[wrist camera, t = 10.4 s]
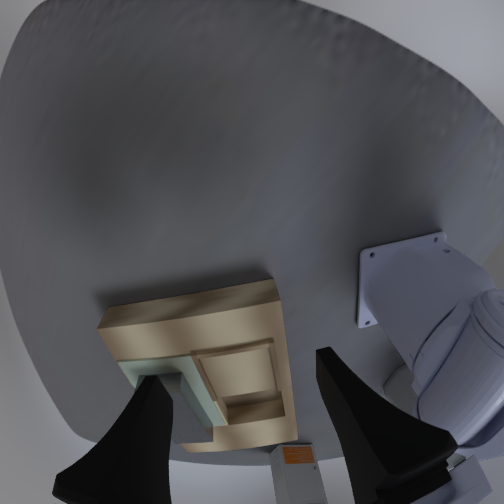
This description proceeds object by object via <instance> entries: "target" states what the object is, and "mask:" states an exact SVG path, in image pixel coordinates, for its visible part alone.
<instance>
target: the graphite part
mask: <svg viewBox="0 0 504 504" xmlns="http://www.w3.org/2000/svg"><path fill="white" fill-rule="evenodd" d="M152 375H157V376H158V377H159V379H160V380H161V382H162V384H163V385H164V387H165V388H166V390H167V392H168V393H169V395H170V396H171V398H172V399H173V426H172V434H171V439H172V440H173V441H174V442H175V443H176V444H181V443H205V442H213V423H212V422H211V420H210V419H209V417H208V415H207V414H206V412H205V411H204V409H203V407H202V406H201V404H200V402H199V401H198V399H197V397H196V395H195V394H194V392H193V390H192V389H191V387H190V385H189V383H188V381H187V380H186V378H185V376H184V374H183V372H175V373H165V374H152ZM152 375H139V377H138V380H137V384H136V388H135V392H136V390H137V389H138V387H139V385H140V384H141V382H142V381H143V379H144V378H145V376H152ZM135 392H134V393H135Z"/></svg>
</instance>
